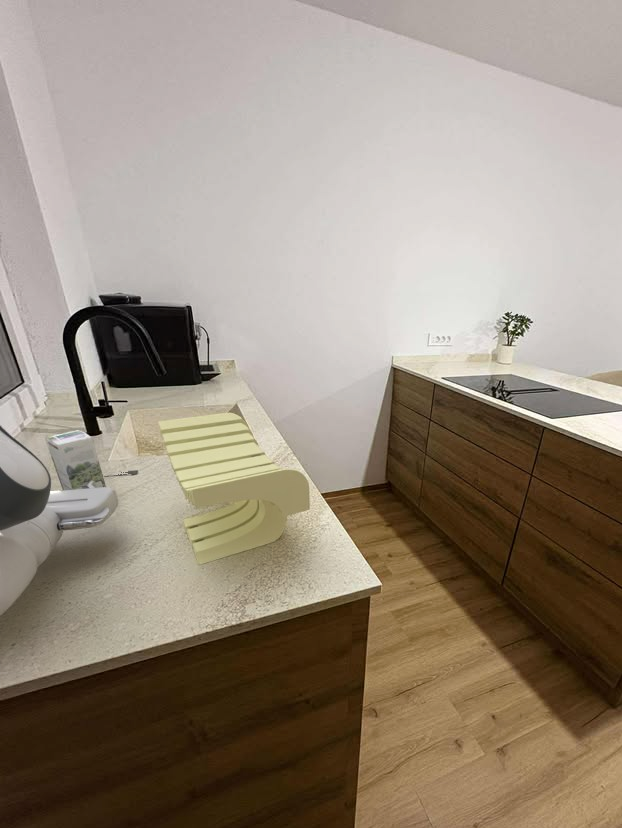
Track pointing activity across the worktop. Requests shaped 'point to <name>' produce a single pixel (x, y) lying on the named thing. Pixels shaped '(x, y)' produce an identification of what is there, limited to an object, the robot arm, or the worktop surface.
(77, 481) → the syrup box
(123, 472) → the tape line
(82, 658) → the worktop surface
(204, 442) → the slatted curved stool
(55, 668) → the worktop surface
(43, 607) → the worktop surface
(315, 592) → the worktop surface
